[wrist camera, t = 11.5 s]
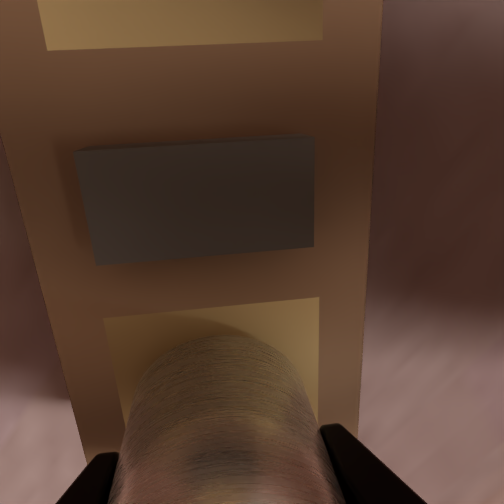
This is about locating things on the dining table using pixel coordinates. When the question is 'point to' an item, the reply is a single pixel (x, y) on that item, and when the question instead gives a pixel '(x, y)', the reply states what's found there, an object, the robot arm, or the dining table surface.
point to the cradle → (194, 185)
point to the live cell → (223, 431)
